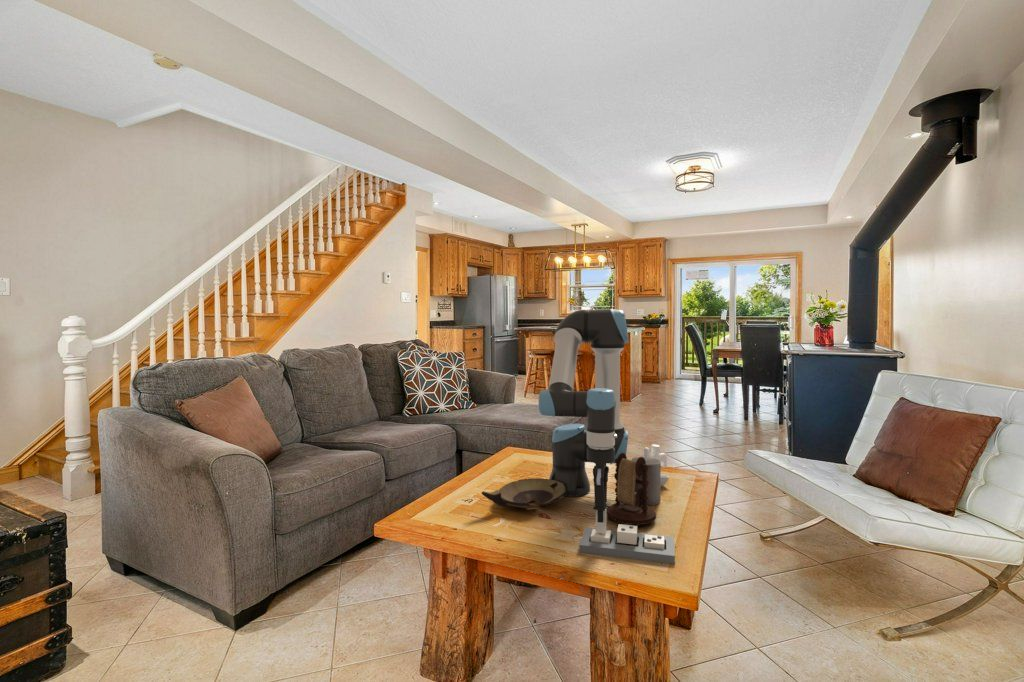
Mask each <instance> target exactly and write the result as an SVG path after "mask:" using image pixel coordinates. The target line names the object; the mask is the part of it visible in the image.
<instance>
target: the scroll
mask: <svg viewBox="0 0 1024 682" xmlns="http://www.w3.org/2000/svg"><path fill="white" fill-rule="evenodd" d="M638 457H639V458H638V460H637V461H633V460H632V459H628V457H627V454H626V455H625V453H620V454H619V456H618V457H617V458H616V459H615V463H616V464H615V470H614V471H615V473H614V474H613V477H614V480H615V481H616V482H615V488H614V492H615V498H614V502H615V503H613V504H610V505H609V508H608V507H606V517H607V519H608V520H609V521H610V520H613V521H614V522H618V523H621V524H624V525H633V526H637V529H638V527H639V525H645V524H646V525H647V524H650V523H652V522H654V521H655V520H657V519H656V518H657V511H656V510H654V509H653V508H652V507H650V505H647V504H646V503H648V502H647V500H648V496H647V495H646V494H647V493H648V492H647V486H648V485H649V481H648V480H647V478H648V477H647V472H648V471H647V470H648V465H647V464H646V462H645V459H644V458H643V457H644V456H638ZM642 474H643V476H642ZM641 476H642V478H643V480H640V479H636V477H637V478H640V477H641ZM635 482H636V483H638V484H641V485H642V487H640V488H639V489H638V491H637V493H636V492H635Z"/></svg>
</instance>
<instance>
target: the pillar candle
mask: <svg viewBox="0 0 1024 682" xmlns="http://www.w3.org/2000/svg"><path fill="white" fill-rule="evenodd" d="M639 457H640V456H637V457H633V458H631V460H633V461H637V460H638V458H639ZM642 457H643V458H644V459H645V462H646V464H647V465H648V470H647V471H648V472H647V477H648V478H647V480H648V481H649V485H648V486H647V492H648V493H647V494H646V495H647V496H648V500H647V502H648V503H646V504H647V506H655V505H659V504H660V503H661V477H660V476H661V473H662V472H661V467H662V466H661V461H660V460H658V459H655V458H652V457H646V456H645V457H644V456H642ZM642 476H643V474H642ZM642 476H641V477H640V478H637V477H636V479H640V480H643V478H642ZM640 487H642V485H641V484H638V483H636V482H635V492H636V493H637V491H638V489H639V488H640Z"/></svg>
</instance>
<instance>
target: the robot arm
mask: <svg viewBox="0 0 1024 682" xmlns="http://www.w3.org/2000/svg"><path fill="white" fill-rule="evenodd" d="M627 327H628V326H627V319H626V312H624V311H623V310H622V309H612V308H610V309H579V310H576V311H573V312H571V313H569V314H568V315H567V316H566V317H564V318H563V319H562V320H561V321H560V322H559V324H558V325H557V326H556V329H555V331H554V332H555V333H554V336H553V341H554V344H555V347H554V354H553V359H552V365H551V370H550V377H549V383H548V388H547V389H546V390H545V389H544V390H540V392H539V393H538V394H539V395H538V412H539V414H540V415H542V416H545V417H546V416H547V417H554V418H555V417H568V418H569V417H574V418H575V417H577V418H586V425H585V424H584V423H583V424H582V423H569V424H564V425H563V424H562V425H559V426H557V427H555V428H554V429H553V431H552V439H551V442H552V469H551V472H550V475H549V478H548V479H551V480H558V481H559V482H561V483H565V487H566V493H565V494H564V496H563V497H579V496H584V495H587V494H588V493H590V491H591V484H590V480H589V476H588V474H587V471H586V463H592V464H595V465H594V466H593V468H592V475H593V480H592V481H593V489H594V491H593V492H594V493H593V494H594V495H593V497H594V506H592V510H593V511H594V510H595V528H596V533H602V534H606V529H607V508H609V506H610V505H609V504H608V503H607V502H608V498H607V497H608V495H607V494H608V493H607V492H608V481H609V471H610V468H609V466H608V465H607V464H610V465H612V464H615V465H616V463H615V459H616V458H617V457H618V456H619V454H620V453H625V455H626V456H627V449H628V445H629V444H628V443H629V442H628V441H629V433H630V432H629V431H628V430H627V429H625V424H624V423H623V422H622V421H621V352H622V351H624V349H625V344H629V340H630V339H629V334H628V328H627ZM583 343H586V344H590V349H591V350H592V351H593V352H594V354H595V355H594V370H595V371H594V377H595V378H594V380H595V381H594V384H595V385H594V386H595V387H594V388H590V389H587V391H585V390H574V387H575V379H576V370H577V369H576V368H577V362H578V361H577V360H578V352H579V348H580V347H581V345H582V344H583ZM555 487H556V486H553V487H552V488H555Z"/></svg>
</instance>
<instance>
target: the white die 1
mask: <svg viewBox="0 0 1024 682" xmlns="http://www.w3.org/2000/svg"><path fill="white" fill-rule="evenodd" d="M591 541H593V542H602V543H611V542H612V541H611V531H609V530H606V534H602V533H596V529H593V530H592V533H591Z"/></svg>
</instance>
